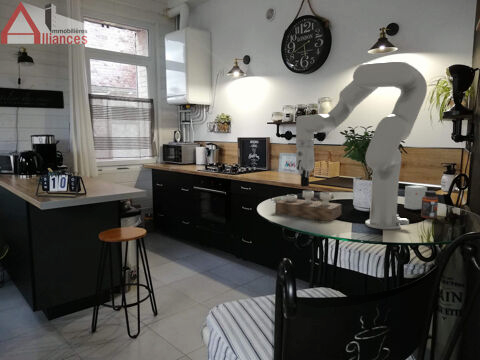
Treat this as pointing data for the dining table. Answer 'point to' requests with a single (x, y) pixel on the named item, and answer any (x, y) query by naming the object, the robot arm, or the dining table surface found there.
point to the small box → (414, 196)
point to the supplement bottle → (429, 205)
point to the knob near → (325, 198)
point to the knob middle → (308, 196)
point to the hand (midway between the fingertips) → (304, 186)
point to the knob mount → (309, 209)
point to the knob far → (291, 198)
